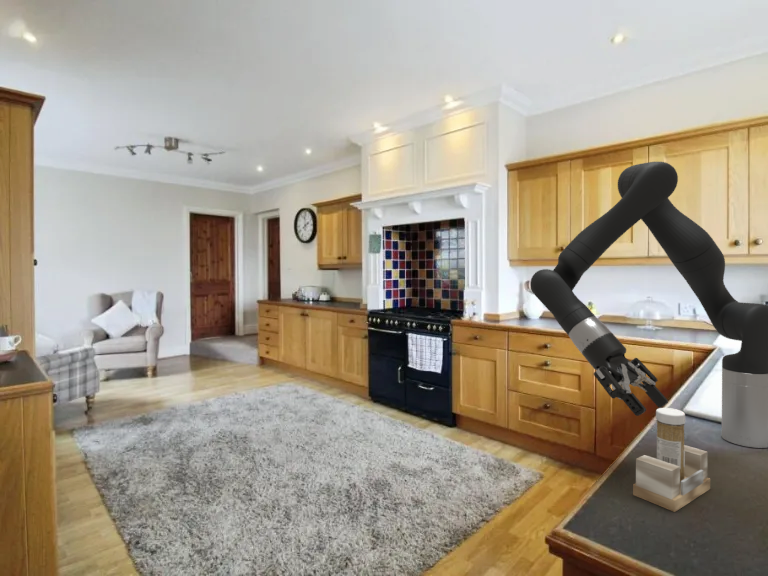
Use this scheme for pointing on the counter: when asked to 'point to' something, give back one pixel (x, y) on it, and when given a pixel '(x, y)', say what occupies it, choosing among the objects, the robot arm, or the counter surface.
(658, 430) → the sprinkles bottle
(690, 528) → the counter surface
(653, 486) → the napkin holder
